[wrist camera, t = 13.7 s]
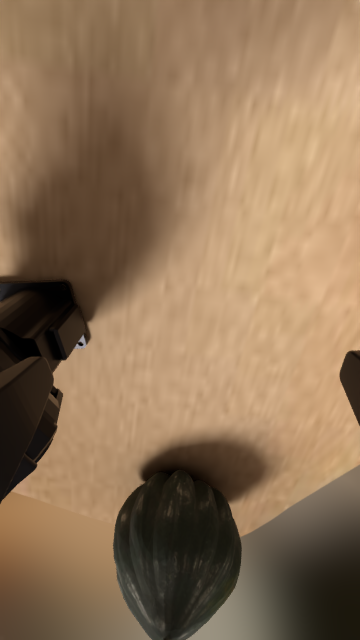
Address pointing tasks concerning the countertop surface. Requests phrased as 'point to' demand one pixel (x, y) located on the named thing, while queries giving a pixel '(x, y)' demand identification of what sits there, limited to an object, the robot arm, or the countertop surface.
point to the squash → (176, 554)
